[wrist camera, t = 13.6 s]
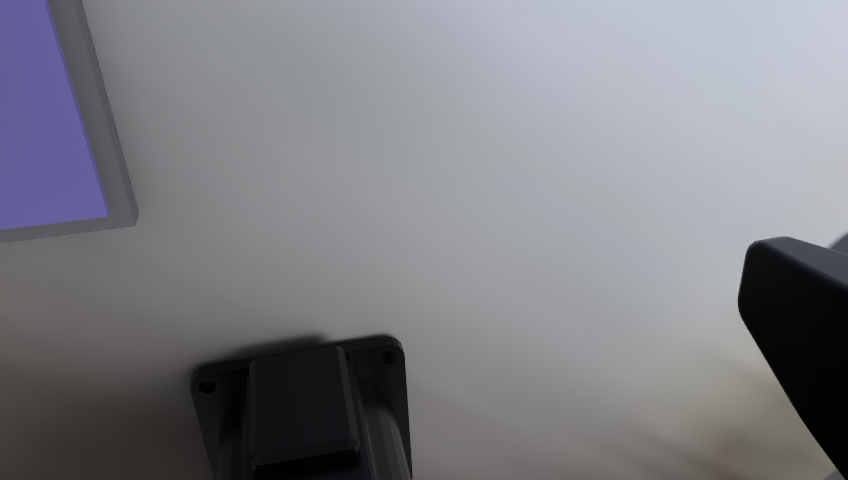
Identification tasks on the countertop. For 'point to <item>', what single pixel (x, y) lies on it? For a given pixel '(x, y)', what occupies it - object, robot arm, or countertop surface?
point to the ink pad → (56, 127)
